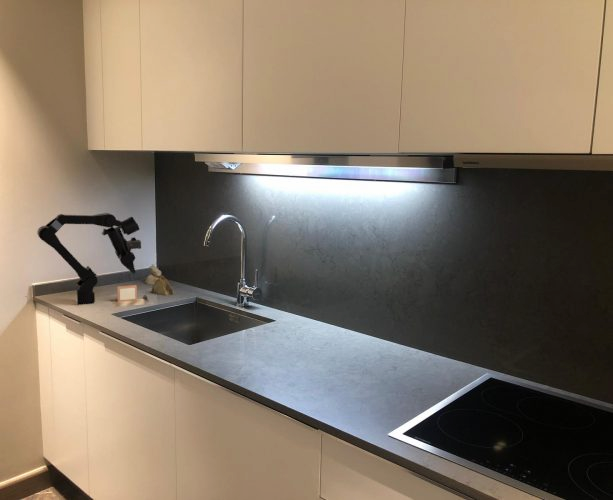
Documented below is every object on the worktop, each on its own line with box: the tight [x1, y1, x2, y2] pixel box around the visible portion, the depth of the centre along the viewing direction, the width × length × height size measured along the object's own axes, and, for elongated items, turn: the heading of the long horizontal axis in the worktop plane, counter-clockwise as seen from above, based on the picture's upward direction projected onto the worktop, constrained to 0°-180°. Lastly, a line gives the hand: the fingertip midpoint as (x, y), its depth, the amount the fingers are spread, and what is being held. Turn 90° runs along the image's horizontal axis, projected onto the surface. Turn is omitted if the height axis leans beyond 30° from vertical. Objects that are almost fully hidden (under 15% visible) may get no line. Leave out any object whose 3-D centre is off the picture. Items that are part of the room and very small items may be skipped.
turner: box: [143, 294, 153, 305], centre depth 244 cm, size 3×11×1 cm, turn 25°
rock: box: [151, 275, 175, 296], centre depth 258 cm, size 11×9×10 cm
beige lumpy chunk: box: [144, 264, 163, 285], centre depth 279 cm, size 6×8×10 cm
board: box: [111, 297, 153, 308], centre depth 241 cm, size 16×10×1 cm, turn 115°
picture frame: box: [116, 284, 138, 302], centre depth 242 cm, size 8×2×7 cm, turn 115°
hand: (132, 270), depth 248 cm, fingers open, 9 cm apart
